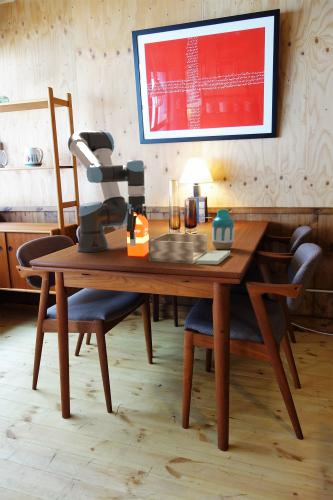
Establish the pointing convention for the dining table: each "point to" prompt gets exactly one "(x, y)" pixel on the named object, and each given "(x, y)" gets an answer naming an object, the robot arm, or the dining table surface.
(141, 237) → the orange juice
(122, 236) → the dining table surface
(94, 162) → the robot arm
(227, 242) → the vase
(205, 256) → the panel
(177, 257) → the crate
